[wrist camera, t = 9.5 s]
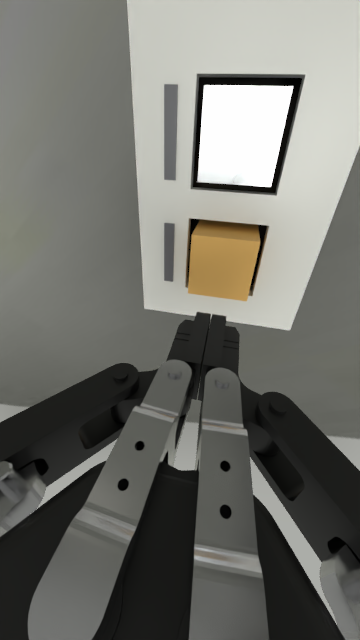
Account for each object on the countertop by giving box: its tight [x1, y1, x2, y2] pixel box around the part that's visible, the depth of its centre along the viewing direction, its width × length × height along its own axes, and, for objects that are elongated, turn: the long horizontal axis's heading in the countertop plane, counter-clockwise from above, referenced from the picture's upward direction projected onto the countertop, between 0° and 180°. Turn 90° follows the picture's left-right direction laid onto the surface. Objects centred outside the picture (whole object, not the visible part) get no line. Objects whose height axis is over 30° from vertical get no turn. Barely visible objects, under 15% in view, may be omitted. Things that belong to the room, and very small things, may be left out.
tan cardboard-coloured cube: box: [188, 219, 260, 301], centre depth 21 cm, size 5×5×4 cm
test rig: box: [127, 0, 360, 330], centre depth 20 cm, size 20×14×6 cm
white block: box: [197, 85, 293, 187], centre depth 17 cm, size 5×5×4 cm
